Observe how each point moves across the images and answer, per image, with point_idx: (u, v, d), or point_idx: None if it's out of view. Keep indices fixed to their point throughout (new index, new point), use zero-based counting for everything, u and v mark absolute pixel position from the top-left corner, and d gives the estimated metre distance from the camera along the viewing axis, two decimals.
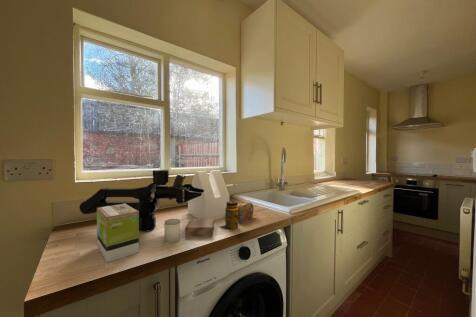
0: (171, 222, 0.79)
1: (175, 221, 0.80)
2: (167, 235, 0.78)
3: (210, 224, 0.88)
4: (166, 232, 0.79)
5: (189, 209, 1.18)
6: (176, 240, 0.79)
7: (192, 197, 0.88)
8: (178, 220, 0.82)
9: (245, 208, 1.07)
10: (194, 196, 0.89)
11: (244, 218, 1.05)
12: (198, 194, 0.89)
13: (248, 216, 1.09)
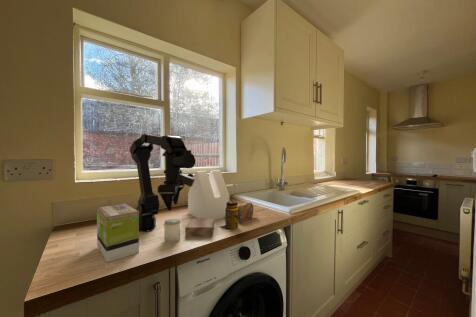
0: (171, 222, 0.79)
1: (175, 221, 0.80)
2: (167, 235, 0.78)
3: (210, 224, 0.88)
4: (166, 232, 0.79)
5: (189, 209, 1.18)
6: (176, 240, 0.79)
7: (165, 200, 0.75)
8: (178, 220, 0.82)
9: (245, 208, 1.07)
10: (166, 202, 0.75)
11: (244, 218, 1.05)
12: (169, 207, 0.76)
13: (248, 216, 1.09)
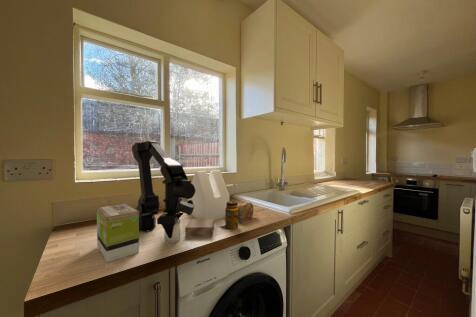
0: None
1: None
2: None
3: (210, 224, 0.88)
4: None
5: None
6: (176, 240, 0.79)
7: (166, 229, 0.77)
8: (178, 220, 0.82)
9: (245, 208, 1.07)
10: (167, 231, 0.77)
11: (244, 218, 1.05)
12: (169, 235, 0.77)
13: (248, 216, 1.09)
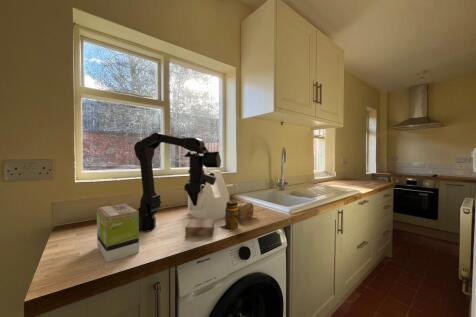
0: None
1: None
2: (192, 203, 0.85)
3: (210, 224, 0.88)
4: None
5: None
6: (200, 208, 0.86)
7: (191, 197, 0.83)
8: (201, 190, 0.88)
9: (245, 208, 1.07)
10: (192, 199, 0.83)
11: (244, 218, 1.05)
12: (194, 202, 0.84)
13: (248, 216, 1.09)
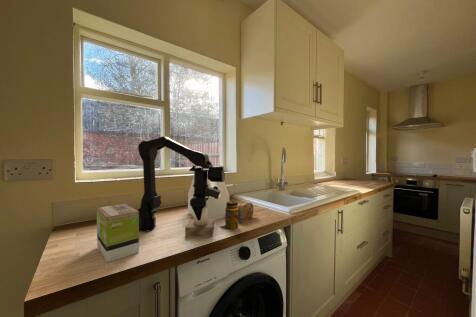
0: None
1: None
2: (196, 218, 0.87)
3: (210, 224, 0.88)
4: (195, 215, 0.87)
5: (189, 209, 1.18)
6: (204, 222, 0.88)
7: (195, 212, 0.84)
8: None
9: (245, 208, 1.07)
10: (196, 214, 0.84)
11: (244, 218, 1.05)
12: (199, 217, 0.85)
13: (248, 216, 1.09)
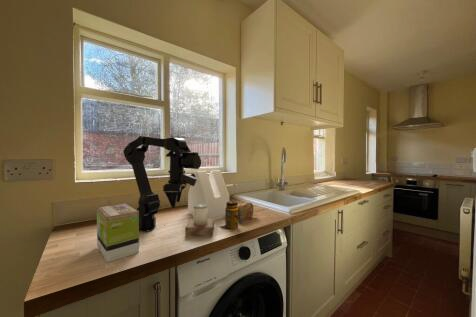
0: (200, 206, 0.88)
1: (203, 206, 0.89)
2: (196, 218, 0.87)
3: (210, 224, 0.88)
4: (195, 215, 0.87)
5: (189, 209, 1.18)
6: (204, 222, 0.88)
7: (169, 198, 0.81)
8: (205, 205, 0.90)
9: (245, 208, 1.07)
10: (171, 200, 0.81)
11: (244, 218, 1.05)
12: (173, 204, 0.81)
13: (248, 216, 1.09)
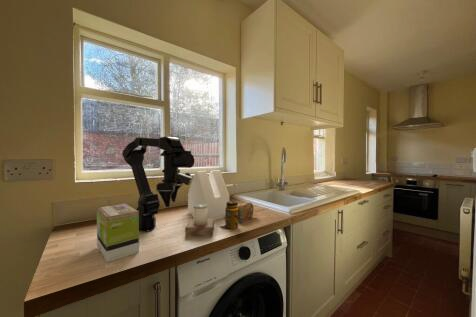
0: (200, 206, 0.88)
1: (203, 206, 0.89)
2: (196, 218, 0.87)
3: (210, 224, 0.88)
4: (195, 215, 0.87)
5: (189, 209, 1.18)
6: (204, 222, 0.88)
7: (163, 198, 0.80)
8: (205, 205, 0.90)
9: (245, 208, 1.07)
10: (165, 200, 0.80)
11: (244, 218, 1.05)
12: (167, 204, 0.81)
13: (248, 216, 1.09)
